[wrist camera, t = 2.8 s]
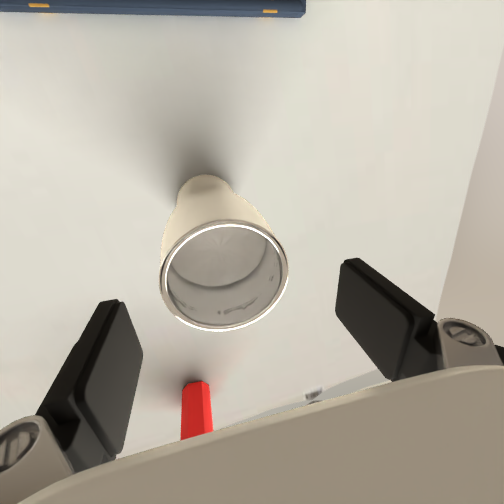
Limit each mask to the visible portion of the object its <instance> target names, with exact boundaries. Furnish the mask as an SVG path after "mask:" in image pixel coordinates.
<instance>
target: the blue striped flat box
mask: <svg viewBox="0 0 504 504" xmlns="http://www.w3.org/2000/svg"><path fill="white" fill-rule="evenodd" d="M0 11H2V12H38V13H87V14H136V15H185V16H234V17H283V18H300V17H302V16H303V15H304V14H305V12H306V0H0Z"/></svg>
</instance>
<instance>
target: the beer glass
mask: <svg viewBox="0 0 504 504" xmlns="http://www.w3.org/2000/svg"><path fill="white" fill-rule="evenodd" d="M288 273H289V266H288V259H287V255H286V253H285V250H284V248H283V246H282V245H281V243H280V242H279V240H278V239H277V238H276V236H275V235H274V233H273V231H272V229H271V228H270V226H269V225H268V223H267V222H266V220H265V219H264V218H263V216H262V215H261V214H260V213H259V211H258V210H257V209H256V208H255V207H254V206H253V205H251V204H250V203H249V202H248V201H247V200H246V199H244V198H243V197H241V196H239V195H237V194H235V193H234V192H233V190H232V189H231V187H230V186H229V185H228V184H227V183H226V182H225V181H224V180H222V179H221V178H219V177H216V176H213V175H198V176H195V177H193V178H191V179H189V180H188V181H186V182H185V183H184V184H183V186H182V187H181V189H180V190H179V193H178V196H177V206H176V208H175V209H174V211H173V212H172V213H171V215H170V217H169V219H168V221H167V224H166V227H165V230H164V233H163V238H162V244H161V253H160V271H159V289H160V293H161V296H162V299H163V301H164V303H165V305H166V306H167V308H168V309H169V310H170V311H171V313H172V314H173V315H175V316H176V317H177V318H178V319H180V320H181V321H183V322H184V323H186V324H188V325H190V326H193V327H195V328H199V329H203V330H210V331H225V330H232V329H236V328H240V327H243V326H246V325H248V324H250V323H252V322H254V321H256V320H258V319H259V318H261V317H262V316H264V315H265V314H266V313H267V312H268V311H270V310H271V309H272V308H273V306H274V305H275V304H276V303H277V302H278V300H279V299H280V297H281V295H282V293H283V291H284V289H285V287H286V284H287V280H288Z"/></svg>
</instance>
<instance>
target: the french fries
mask: <svg viewBox="0 0 504 504" xmlns="http://www.w3.org/2000/svg"><path fill="white" fill-rule="evenodd" d="M212 431H213V422H212V412H211V401H210V391H209V385H208V384H206V383H204V382H203V381H199V382H194V383H189V384H187V386H186V387H185V388H184V389H183V390H182V414H181V440H184V439H188V438H191V437H195V436H198V435H202V434H205V433H209V432H212Z"/></svg>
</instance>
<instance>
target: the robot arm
mask: <svg viewBox="0 0 504 504" xmlns="http://www.w3.org/2000/svg"><path fill="white" fill-rule="evenodd" d="M335 312H336V315H337V317H338V318H339V320H340V321H341V322H342V323H343V325H344V326H345V327H346V328H347V330H348V331H349V332H350V334H351V335H352V336H353V337H354V339H355V340H356V341H357V342H358V344H359V345H360V346H361V347H362V349H363V350H364V351H365V353H366V354H367V355H368V356H369V358H370V359H371V360H372V361H373V363H374V364H375V365H376V366H377V368H378V369H379V370H380V371H381V373H382V374H383V375H384V376H385V378H387V379H389V380H391V381H392V382H391V383H387V384H383V385H380V386H376V387H372V388H369V389H365V390H361V391H357V392H354V393H350V394H347V395H343V396H339V397H335V398H332V399H328V400H324V401H321V402H317V403H313V404H310V405H306V406H302V407H299V408H295V409H291V410H288V411H284V412H281V413H277V414H273V415H270V416H266V417H263V418H259V419H256V420H252V421H248V422H244V423H241V424H237V425H234V426H230V427H227V428H223V429H220V430H216V431H212V432H209V433H205V434H202V435H198V436H195V437H191V438H188V439H184V440H180V441H177V442H173V443H170V444H166V445H163V446H160V447H156V448H153V449H150V450H146V451H143V452H140V453H136V454H133V455H130V456H126V457H123V458H120V459H116V454H119V453H121V451H122V449H123V445H124V441H125V436H126V432H127V427H128V423H129V418H130V414H131V409H132V405H133V400H134V396H135V391H136V387H137V382H138V378H139V373H140V369H141V364H142V360H143V351H142V348H141V345H140V342H139V340H138V337H137V335H136V332H135V329H134V327H133V324H132V321H131V319H130V316H129V314H128V311H127V308H126V306H125V303H124V302H119V300H118V299H114V300H108V301H102V302H100V303H99V304H98V306H97V308H96V310H95V311H94V313H93V315H92V317H91V319H90V321H89V322H88V324H87V326H86V328H85V330H84V331H83V333H82V335H81V337H80V339H79V340H78V342H77V343H76V344H75V345H74V346H73V348H72V350H71V352H70V354H69V355H68V357H67V359H66V361H65V362H64V364H63V366H62V368H61V370H60V371H59V373H58V375H57V377H56V379H55V380H54V382H53V384H52V386H51V387H50V389H49V391H48V393H47V395H46V396H45V398H44V400H43V402H42V403H41V405H40V407H39V409H38V411H37V412H36V414H35V415H33V416H27V417H24V418H21V419H19V420H16V421H14V422H12V423H11V424H9V425H7V426H6V427H4V428H3V429H1V430H0V504H504V347H501V346H498V345H494V343H493V341H492V339H491V338H490V336H489V335H488V334H487V333H486V332H485V331H484V330H482V329H481V328H479V327H477V326H476V325H474V324H472V323H469V322H467V321H464V320H460V319H455V318H444V319H441V320H440V321H439V322H438V323H437V322H436V321H434V320H433V319H434V316H435V314H433V313H432V312H431V311H429V310H428V309H427V308H425V307H424V306H423V305H421V304H420V303H419V302H417V301H416V300H415V299H413V298H412V297H411V296H409V295H408V294H407V293H405V292H404V291H403V290H401V289H400V288H399V287H397V286H396V285H395V284H393V283H392V282H391V281H389V280H388V279H387V278H385V277H384V276H383V275H381V274H380V273H379V272H377V271H376V270H374V269H373V268H372V267H370V266H369V265H368V264H366V263H365V262H364V261H362V260H361V259H360V258H353V259H347V260H345V261H344V263H342V264H341V267H340V275H339V283H338V291H337V299H336V307H335ZM115 459H116V460H115Z"/></svg>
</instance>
